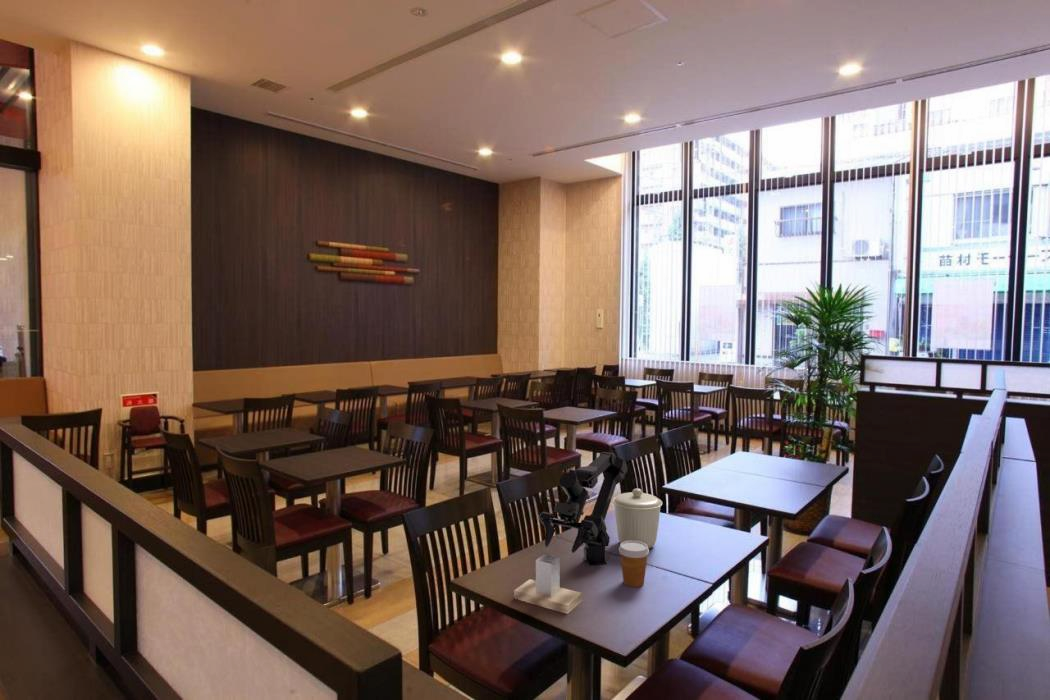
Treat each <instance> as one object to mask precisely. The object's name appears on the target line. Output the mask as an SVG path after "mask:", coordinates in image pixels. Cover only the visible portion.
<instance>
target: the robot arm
mask: <svg viewBox="0 0 1050 700" xmlns="http://www.w3.org/2000/svg"><path fill="white" fill-rule="evenodd" d="M627 472H628V465H627V463H626V462H625V461H624V460H623V459H622V458H620V457H618V456H617V455H616V454H615V453H613V452H607V451H603V452H600V453H599V455H598V456H597V457H596V458H595V459H594V460H593V461H592V462H590V463H589V464H588V465H586V466H579V468H576V469H569V471H568V472H566V473H564V474H562V475H561V476H560V478H559V485H560V487H561V488H562V490H563V491H564V493H565V494H566V495H567V496H568V498H567V500H566V501H564V502H559V501H556V502H555V506H554V513H558V514H557V515H558V517H560V518H558V517H556V516H555V515H554V514H553V513H552V512H547V511H541V513H540V514H539V516H538V520H539V521H540V523H541V525H543V526H544V533H545V534H544V535H545V536H544V538H545V540H544V545H545V547H546V548H548V546H549V545H550V543H551V541H552V539H553V536H554V535H555V532H556V527H557V526H561V527H567V528H572V529H576V530H577V534H576V537H575V540H574V541H573V544H572V548H571V553H573V554H574V553H575V552H576V551H577V550H578V549H580V547H582V545H584V547H583V560H584V561H586V563H587V565H589V566H593V565H601V564H604V565H605V564H607V563H608V561H607V560H606V548H607V547H609V544H610V542H611V541H610V539H611V538H610V536H609V534H608V532H607V525H606V521H605V520H606V517H607V513H608V511H609V509H610V505H611V502H612V500H613V496H614V492H615V490H616V488H617V485H618V484H619V483H620V482H622V481H623V480H624V478H625V475H626V474H627ZM601 474H602V476H603V480H602V483H601V486H600V489H599V493H598V495H597V498H596V501H595V503H594V507H593V509H592V512H591V514H589V515H588V514H586V515H585V516H584V513H585V512H584V508H585V505H586V502H587V500H590V494H589V491H588V490H587V489H594V488H595V486H596V485H597V484H598V482H599V481H598V477H599V476H600V475H601ZM586 488H587V489H586ZM581 516H584V517H583V519H581ZM580 520H581V521H580Z"/></svg>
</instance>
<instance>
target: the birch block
mask: <svg viewBox="0 0 1050 700" xmlns="http://www.w3.org/2000/svg"><path fill="white" fill-rule="evenodd" d="M513 593H514V595H513V599H514V598H515V599H514V600H517V599H518V601H522V602H524V601H525V602H524V603H529V604H532V605H536V606H539V607H542V608H545V609H549V610H552V611H555V612H558V613H559V612H560V613H562V614H566V615H568V614H569V613H571V612H572V611H573V610H574V609H575V608H576V607H577V606H578V605H579V604H581V602H583V601H582V600H583V596H582V593H583V592H581V591H577V590H576V591H575V590H571V589H568V588H565V587H560V591H558V592H557V593H556V594H555V595H553V596H552V597H548V596H544V595H541V594H537V593H536V579H535V580H534V579H531V578H530V579H528V580H527V581H525V582H524V583H522V584H521V585H519V586H518V587H516V589H514V591H513Z"/></svg>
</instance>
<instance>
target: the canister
mask: <svg viewBox="0 0 1050 700" xmlns="http://www.w3.org/2000/svg"><path fill="white" fill-rule="evenodd" d="M611 502H612V503H613V505H614V513H615V516H614V517H615V524H616V532H617V538H618V542H619V543H620V544H621V543H622V542H625V541H639V542H643V543H645V544H646V545H647V546H648V549H651V548H652V547H654V546H655V544H656V542H657V537H658V529H659V523H660V514H661V507H662V505H663V501H662V500H661V499H660V498H658V497H657V496H655V495H653V494H650V493H645V492H643V491H642V489H641V488H634V489H632V492H631V491H630V492H623V493H619V494H618V495H617V496H615V497H612V499H611Z"/></svg>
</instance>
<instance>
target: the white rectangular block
mask: <svg viewBox="0 0 1050 700" xmlns="http://www.w3.org/2000/svg"><path fill="white" fill-rule="evenodd" d="M560 565H561V563H560V557H558V556H554V555H549V554H547V553H546V554H545V553H544V554H542V555H541V556H540V557H538V558H537V559H535V581H536V593H537V594H541V595H544V596H548V597H552V596H553V595H555V594H556V593H557V592H558V591H560V583H561V582H560V581H561V580H560V579H561V576H560V575H561V574H560V569H561V567H560Z"/></svg>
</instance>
